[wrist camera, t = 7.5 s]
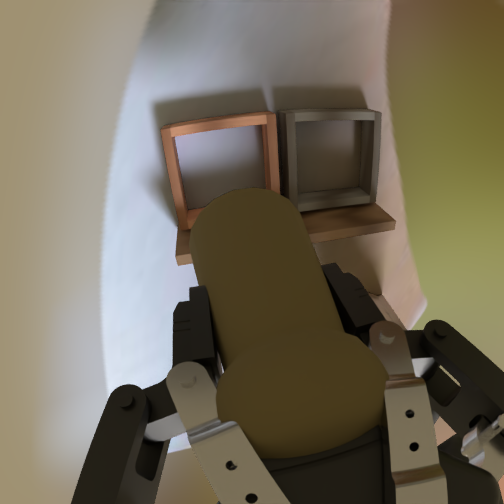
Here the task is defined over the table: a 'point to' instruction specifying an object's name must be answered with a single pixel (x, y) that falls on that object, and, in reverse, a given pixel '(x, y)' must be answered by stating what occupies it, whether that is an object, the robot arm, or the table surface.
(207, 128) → the shaker rack
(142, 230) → the table surface
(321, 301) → the cork
